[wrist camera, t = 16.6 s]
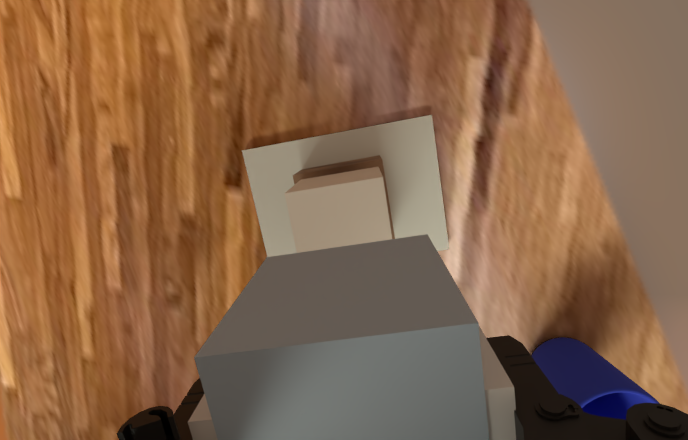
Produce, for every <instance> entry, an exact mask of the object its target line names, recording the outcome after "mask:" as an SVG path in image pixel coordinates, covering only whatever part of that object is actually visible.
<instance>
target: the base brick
mask: <svg viewBox="0 0 688 440" xmlns="http://www.w3.org/2000/svg"><path fill="white" fill-rule="evenodd" d="M372 167H379V169H380V171H381V174H382V176H383V181H384V187H385V194H386V201H387V207H388V214H389V221H390V227H391V234H392V239H395V235H394V229H393V223H392V217H391V210H390V204H389V198H388V192H387V186H386V179H385V173H384V167H383V161H382V158H381V157H380V155H378V156H372V157H367V158H361V159H356V160H350V161H345V162H339V163H334V164H328V165H323V166H317V167H312V168H307V169H301V170H300V171H299V172H297V173H296V174H294V175H293V180H294V184H296V183H297V182H298V181H300V180H301V179H307V178H313V177H319V176H325V175H331V174H337V173H343V172H349V171H355V170H360V169H366V168H372Z"/></svg>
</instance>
